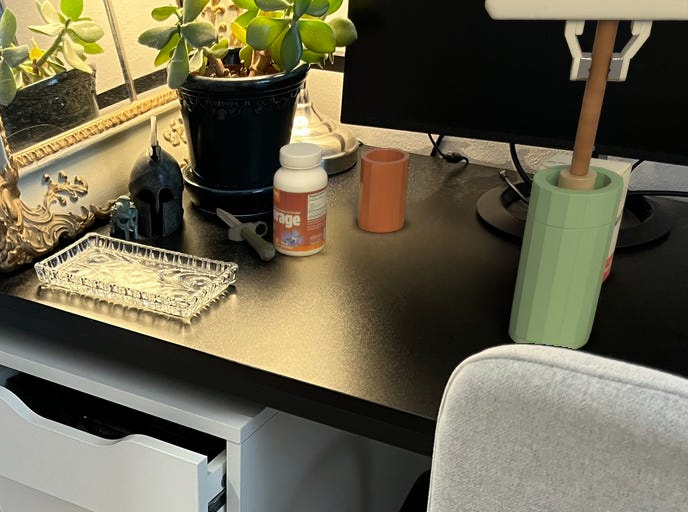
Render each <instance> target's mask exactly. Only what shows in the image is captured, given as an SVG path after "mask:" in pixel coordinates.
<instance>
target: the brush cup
mask: <svg viewBox="0 0 688 512" xmlns="http://www.w3.org/2000/svg"><path fill="white" fill-rule="evenodd" d="M410 157H411V155H410V153H409V152H407V151H406V150H403V149H401V148H393V147H378V148H373V149H369V150H366V151H365V152H362V153H361V156H360V171H359V190H358V192H359V193H358V210H357V225H358V227H359V228H360V229H362V230H363V231H366V232H370V233H379V234H381V233H382V234H383V233H391V232H396V231H398V230H400V229H402V228H403V227H404V225H405V219H406V218H405V217H406V206H407V194H408V182H409V181H408V180H409V169H410V159H411V158H410Z"/></svg>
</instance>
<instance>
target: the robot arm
mask: <svg viewBox="0 0 688 512" xmlns="http://www.w3.org/2000/svg"><path fill="white" fill-rule="evenodd" d="M484 8H485V11H486V12H487V13H488V15H489V17H490V18H491V19H493V20H499V21H500V20H505V21H509V20H510V21H511V20H512V21H516V20H517V21H519V20H521V21H522V20H524V21H531V20H533V21H543V20H544V21H545V20H546V21H564V20H565V24H564V37H565V40H566V42H567V45H568V49H569V51H570V54H571V57H572V61H571V66H570V74H569V80H570V81H587V80H588V78H589V68H590V67H591V62H592V52H583V51H582V49H581V45H580V43H579V40H578V36H581V35H582V34H583V33H584V29H585V28H584V27H585V22H586V21H598V20H619V21H631V23H630V31H631V34H632V36H631V38H630V39H629V40H628V42H627V43H626V45H625V46H624V47H623V48H622V50H621V52H612V56H611V61H610V67H609V71H608V76H607V82H625V81H626V78H627V74H628V70H629V65H630V60H631V59H633V57H634V56H635V55H636V54H637V52H638V51H639V50H640V48H642V46H643V45H644V43H645V42H646V41H647V39H648V38H649V37H650V35H651V29H652V25H653V21H688V0H485V2H484Z"/></svg>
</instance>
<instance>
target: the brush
mask: <svg viewBox="0 0 688 512" xmlns="http://www.w3.org/2000/svg"><path fill="white" fill-rule="evenodd" d="M619 22H620V20H597V25H596V30H595V36H594V41H593V46H592V52H591V53H592V62H591V67H590V68H589V78H588V80H586V83H585V89H584V93H583V94H584V95H583V99H582V102H581V103H582V104H581V108H580V109H581V110H580V115H579V120H578V124H577V130H576V135H575V139H574V140H575V141H574V146H573V152H572V155H573V156H572V161H571V166H570V168H565V169H563V170H561V172H560V176H559V181H558V186H557V187H558V188H563V189H569V190H583V191H586V190H594V187H595V182H596V177H597V173H596V172H595V171H594V170H592V169H589V165H590V161H591V158H592V155H593V150H594V146H595V141H596V136H597V131H598V126H599V120H600V116H601V111H602V106H603V102H604V101H603V100H604V96H605V91H606V87H607V82H608V81H607V76H608V71H609V67H610V61H611V56H612V53H614V52H613V51H614V46H615V42H616V36H617V32H618V27H619Z"/></svg>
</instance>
